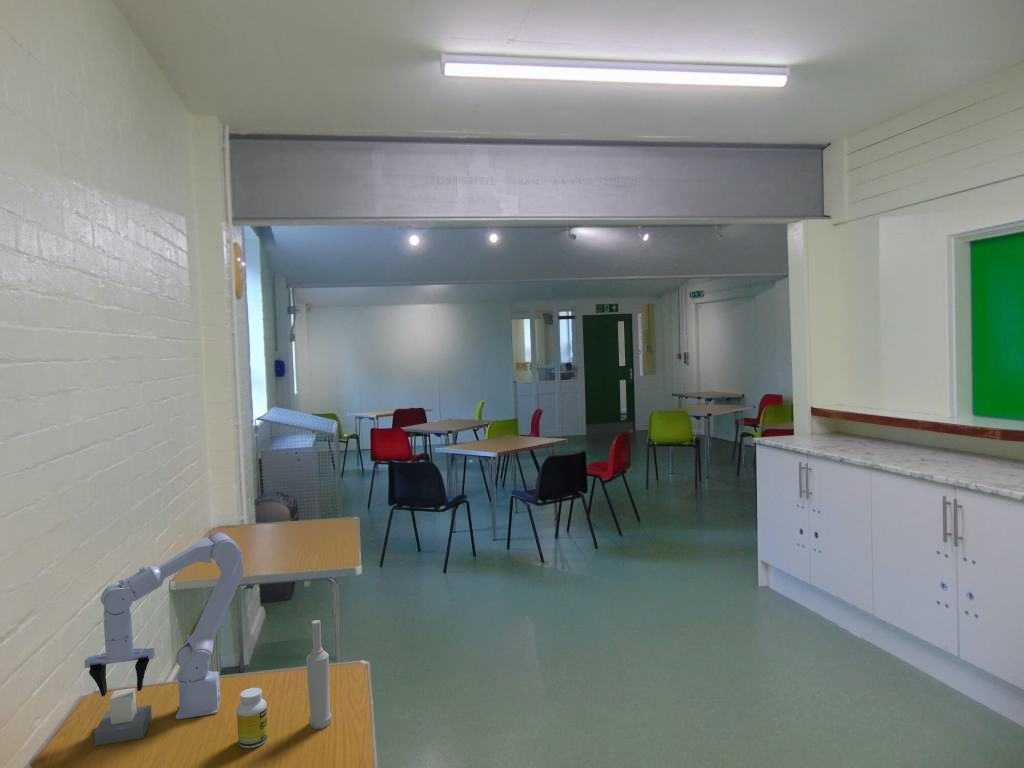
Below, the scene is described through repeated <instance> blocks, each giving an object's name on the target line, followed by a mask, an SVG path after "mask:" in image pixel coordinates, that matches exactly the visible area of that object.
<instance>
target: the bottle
mask: <svg viewBox="0 0 1024 768" xmlns="http://www.w3.org/2000/svg"><path fill="white" fill-rule="evenodd" d="M321 625H322V623H321V620H320V619H315V620H312V621H311V631H312V632H311V634H312V635H311V636H312V649H311V652H310V653H309V654H308V655H307V656H306V658H305V659H306V671H307V673H306V674H307V687H308V700H309V702H308V703H309V717H308V719H309V720H308V721H309V725H310V727H311V728H312V729H315V730H318V729H324V728H327V727H328V726H330V724H331V723H332V712H331V707H330V706H331V705H330V704H331V702H330V701H331V699H330V696H331V695H330V657H329V656H330V654H329V653H328V652H327V651H325V650H324V648H323V647H322V634H321V633H322V632H321V631H322V629H321V628H322V626H321Z"/></svg>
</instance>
